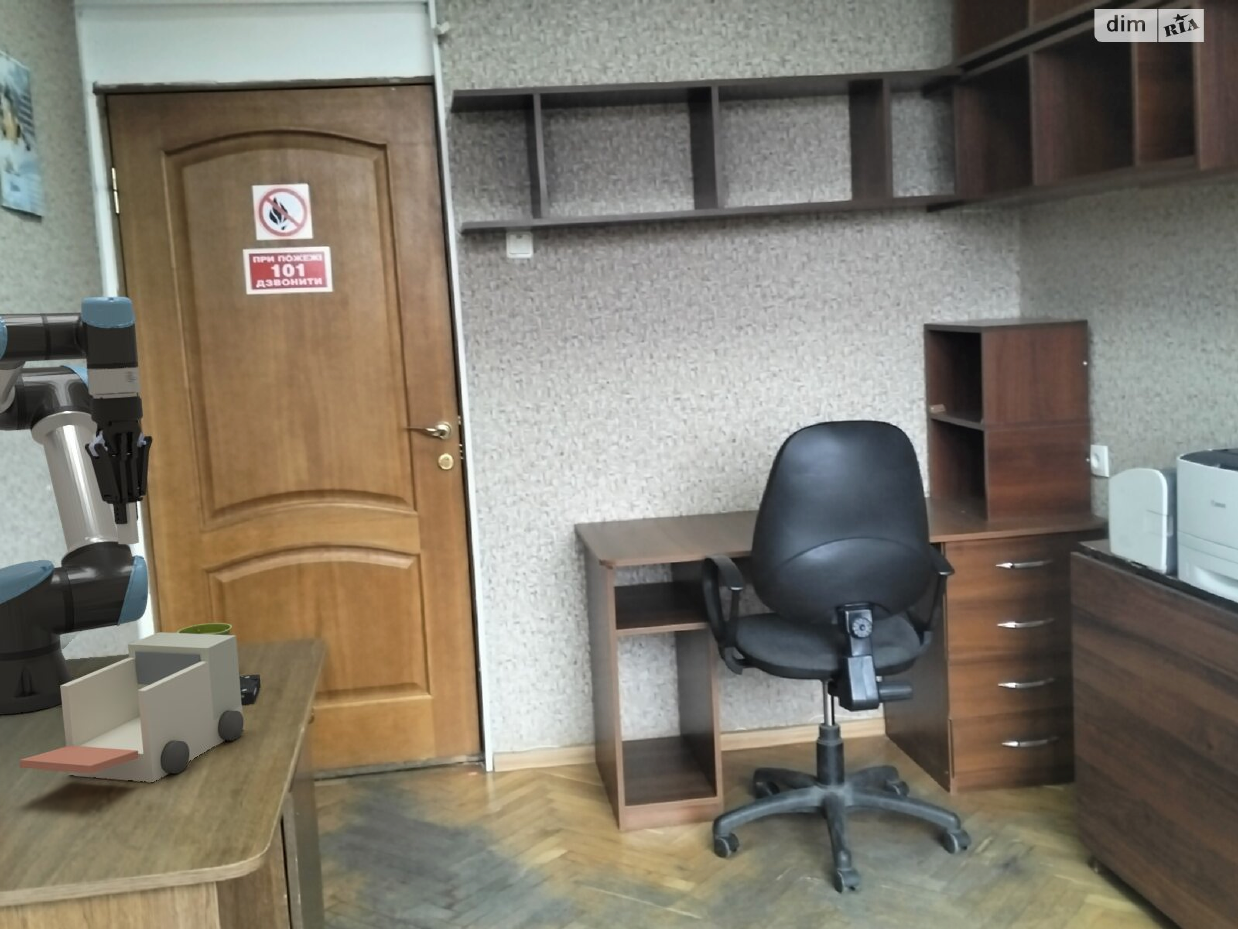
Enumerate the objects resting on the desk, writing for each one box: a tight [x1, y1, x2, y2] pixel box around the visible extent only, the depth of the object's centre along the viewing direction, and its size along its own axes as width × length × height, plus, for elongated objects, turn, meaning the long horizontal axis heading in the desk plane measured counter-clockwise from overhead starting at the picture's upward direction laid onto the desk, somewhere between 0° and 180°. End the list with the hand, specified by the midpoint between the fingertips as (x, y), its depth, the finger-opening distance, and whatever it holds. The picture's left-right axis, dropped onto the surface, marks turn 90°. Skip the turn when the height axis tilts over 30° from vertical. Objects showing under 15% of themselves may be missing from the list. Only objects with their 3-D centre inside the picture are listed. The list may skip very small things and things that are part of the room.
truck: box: [60, 631, 244, 783], centre depth 168 cm, size 17×21×15 cm
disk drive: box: [239, 674, 261, 706], centre depth 193 cm, size 10×3×15 cm
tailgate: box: [19, 745, 138, 774], centre depth 153 cm, size 11×1×9 cm
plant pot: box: [176, 622, 233, 635], centre depth 207 cm, size 9×9×9 cm
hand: (128, 543), depth 183 cm, fingers closed
